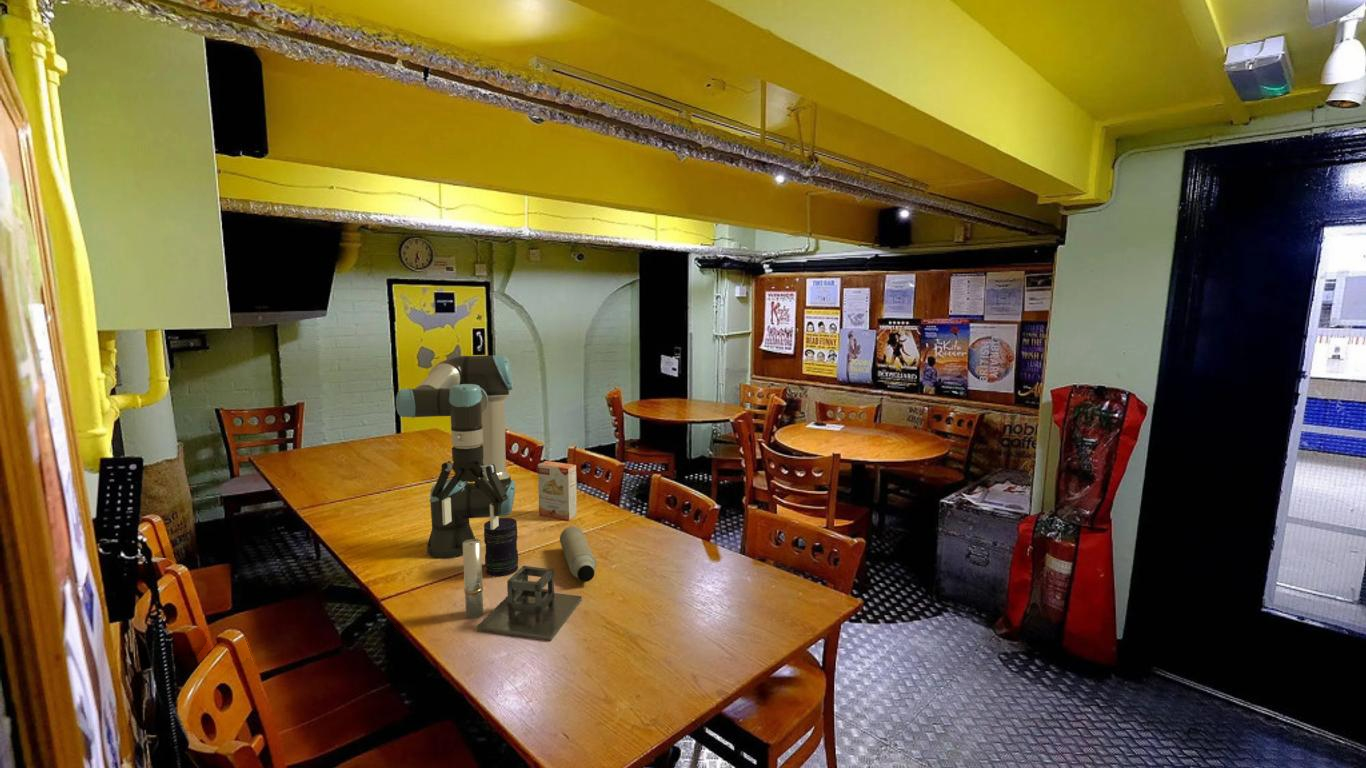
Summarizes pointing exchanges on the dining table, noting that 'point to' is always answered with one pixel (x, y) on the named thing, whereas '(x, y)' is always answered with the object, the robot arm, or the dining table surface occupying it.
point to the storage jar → (501, 548)
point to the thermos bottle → (578, 553)
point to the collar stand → (531, 607)
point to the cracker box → (557, 490)
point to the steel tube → (473, 578)
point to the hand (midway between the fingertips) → (470, 525)
